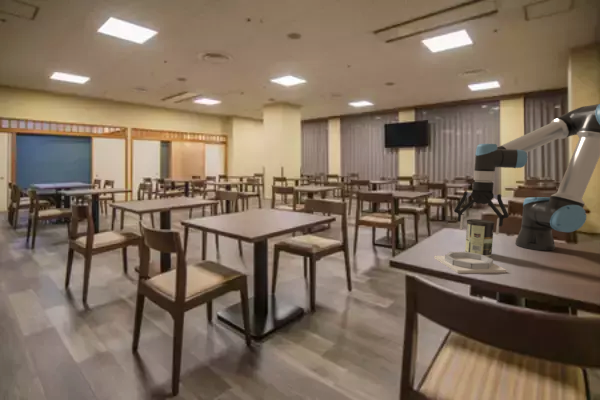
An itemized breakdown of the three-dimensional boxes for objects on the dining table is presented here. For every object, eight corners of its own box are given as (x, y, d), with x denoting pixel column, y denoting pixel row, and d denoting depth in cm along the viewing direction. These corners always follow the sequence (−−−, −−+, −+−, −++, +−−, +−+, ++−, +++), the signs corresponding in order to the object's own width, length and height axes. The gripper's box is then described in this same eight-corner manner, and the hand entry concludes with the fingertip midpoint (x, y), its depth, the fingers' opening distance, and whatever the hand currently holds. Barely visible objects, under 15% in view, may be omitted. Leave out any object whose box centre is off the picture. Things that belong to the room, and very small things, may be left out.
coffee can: (487, 251, 151) (489, 219, 149) (495, 258, 141) (498, 224, 139) (461, 249, 153) (464, 218, 151) (468, 256, 143) (470, 222, 141)
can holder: (477, 257, 140) (477, 250, 140) (506, 272, 123) (506, 264, 122) (434, 258, 139) (434, 251, 139) (457, 273, 121) (458, 264, 121)
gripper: (519, 183, 139) (514, 234, 141) (453, 179, 153) (449, 226, 156) (518, 183, 133) (512, 237, 135) (449, 179, 147) (445, 228, 150)
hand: (478, 231), depth 145 cm, fingers open, 13 cm apart
